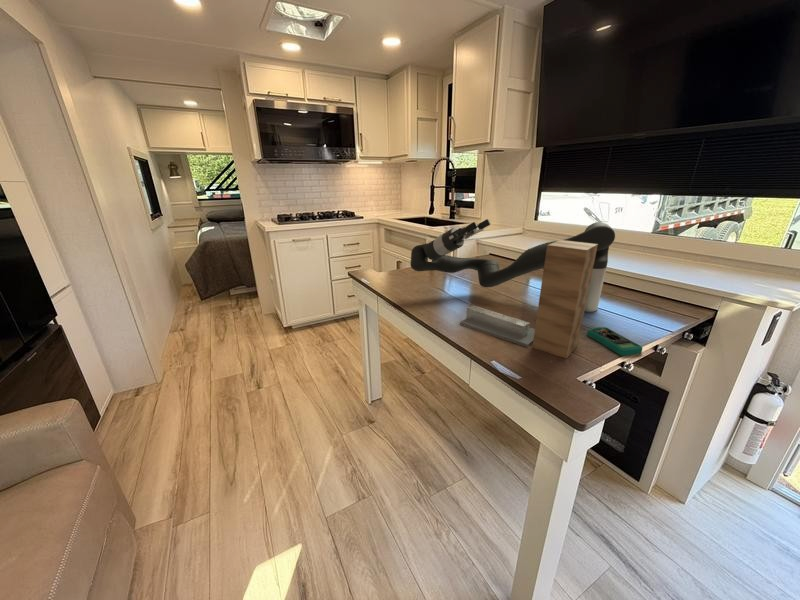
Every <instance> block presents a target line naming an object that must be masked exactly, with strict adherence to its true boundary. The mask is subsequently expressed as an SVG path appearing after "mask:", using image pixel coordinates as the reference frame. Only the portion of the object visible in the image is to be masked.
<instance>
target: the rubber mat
mask: <svg viewBox="0 0 800 600" xmlns="http://www.w3.org/2000/svg"><path fill="white" fill-rule="evenodd" d="M460 324H462V325H461V326H463V325H465V326H464V327H466V326H467V327H466V328H469V327H470V328H469V329H472V328H473V329H472V330H475V331H478V332H482V333H485V334H487V335H491V336H494V337H496V338H498V339H502V340H505V341H508V342H510V343H514V344H516V345H519V346H522V347H526V348H529V347H530V346H531V345H533V339H534V332H535V328H532V327H529V332H528V334H527V335H526V336H524V337H523V338H522V337H519V336H516V335H513V334H511V333H508V332H505V331H502V330H499V329H496V328H493V327H490V326H488V325H485V324H482V323H479V322H476V321H473V320H470V319H467V318H466V317H465V319H463V320H461V321H460V322H459V325H460Z"/></svg>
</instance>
